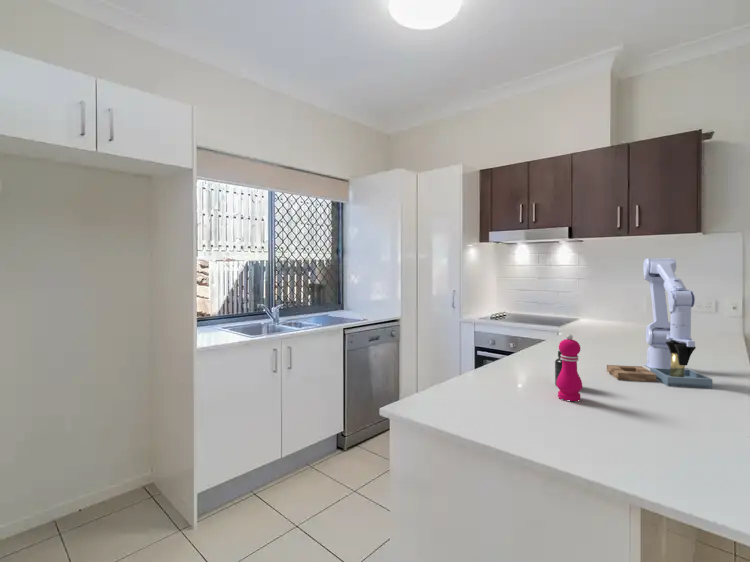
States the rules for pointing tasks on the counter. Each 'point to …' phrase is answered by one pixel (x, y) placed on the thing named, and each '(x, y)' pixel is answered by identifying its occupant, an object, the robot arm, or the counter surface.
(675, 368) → the brass peg
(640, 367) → the walnut socket block
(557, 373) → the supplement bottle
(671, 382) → the slate-blue tray
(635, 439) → the counter surface
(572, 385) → the pepper mill
